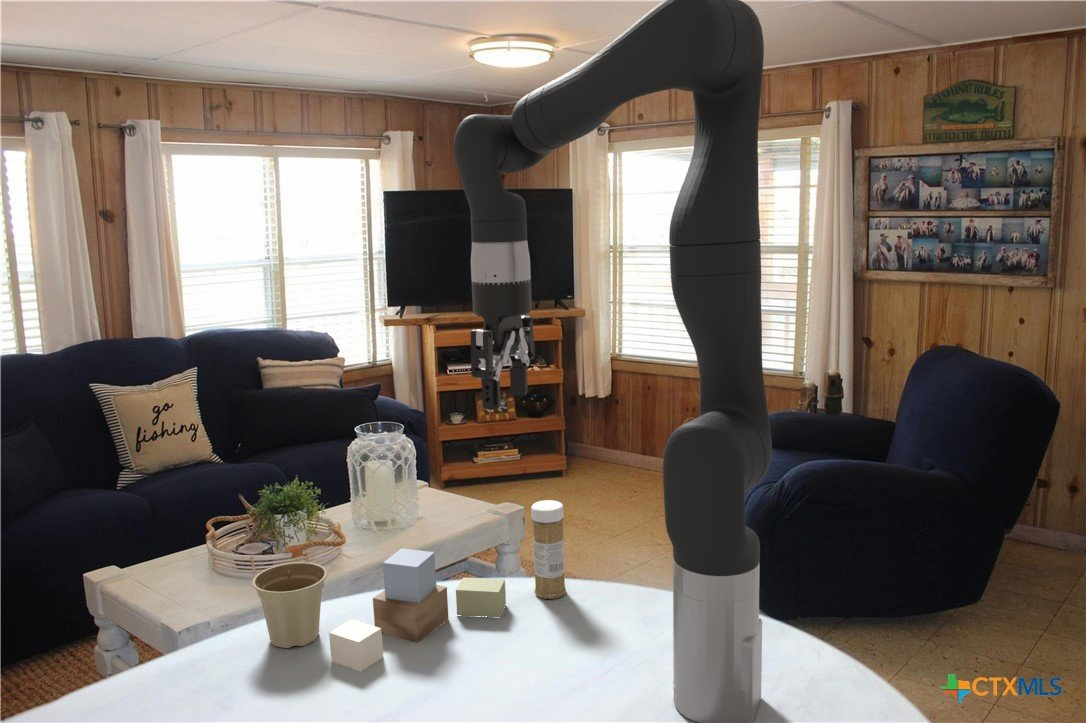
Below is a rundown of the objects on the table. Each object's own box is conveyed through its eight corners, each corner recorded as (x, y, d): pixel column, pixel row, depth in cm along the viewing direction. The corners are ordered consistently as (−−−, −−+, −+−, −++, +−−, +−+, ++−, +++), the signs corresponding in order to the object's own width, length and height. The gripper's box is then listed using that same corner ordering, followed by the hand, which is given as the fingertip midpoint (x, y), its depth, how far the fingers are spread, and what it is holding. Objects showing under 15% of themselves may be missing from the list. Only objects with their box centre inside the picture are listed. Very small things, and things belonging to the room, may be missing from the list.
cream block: (383, 657, 113) (381, 628, 112) (360, 672, 110) (358, 642, 109) (354, 648, 116) (351, 619, 115) (331, 662, 112) (329, 632, 111)
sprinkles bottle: (561, 584, 132) (559, 497, 129) (569, 598, 127) (566, 508, 125) (531, 588, 131) (528, 500, 128) (538, 602, 126) (534, 511, 124)
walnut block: (448, 621, 122) (446, 587, 121) (417, 644, 116) (415, 608, 115) (407, 611, 126) (405, 577, 125) (375, 632, 120) (372, 597, 119)
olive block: (505, 606, 126) (504, 579, 125) (499, 619, 122) (498, 592, 121) (464, 603, 127) (463, 577, 126) (457, 617, 123) (455, 589, 122)
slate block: (436, 587, 121) (434, 552, 120) (419, 603, 117) (416, 567, 116) (403, 582, 123) (401, 548, 122) (385, 598, 118) (382, 562, 117)
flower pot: (341, 621, 123) (336, 562, 121) (317, 656, 113) (312, 592, 112) (275, 620, 124) (269, 561, 122) (246, 654, 114) (240, 591, 113)
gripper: (504, 283, 106) (509, 416, 109) (549, 272, 119) (553, 391, 122) (448, 282, 109) (454, 412, 112) (498, 271, 122) (503, 388, 125)
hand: (506, 401), depth 117 cm, fingers open, 8 cm apart
